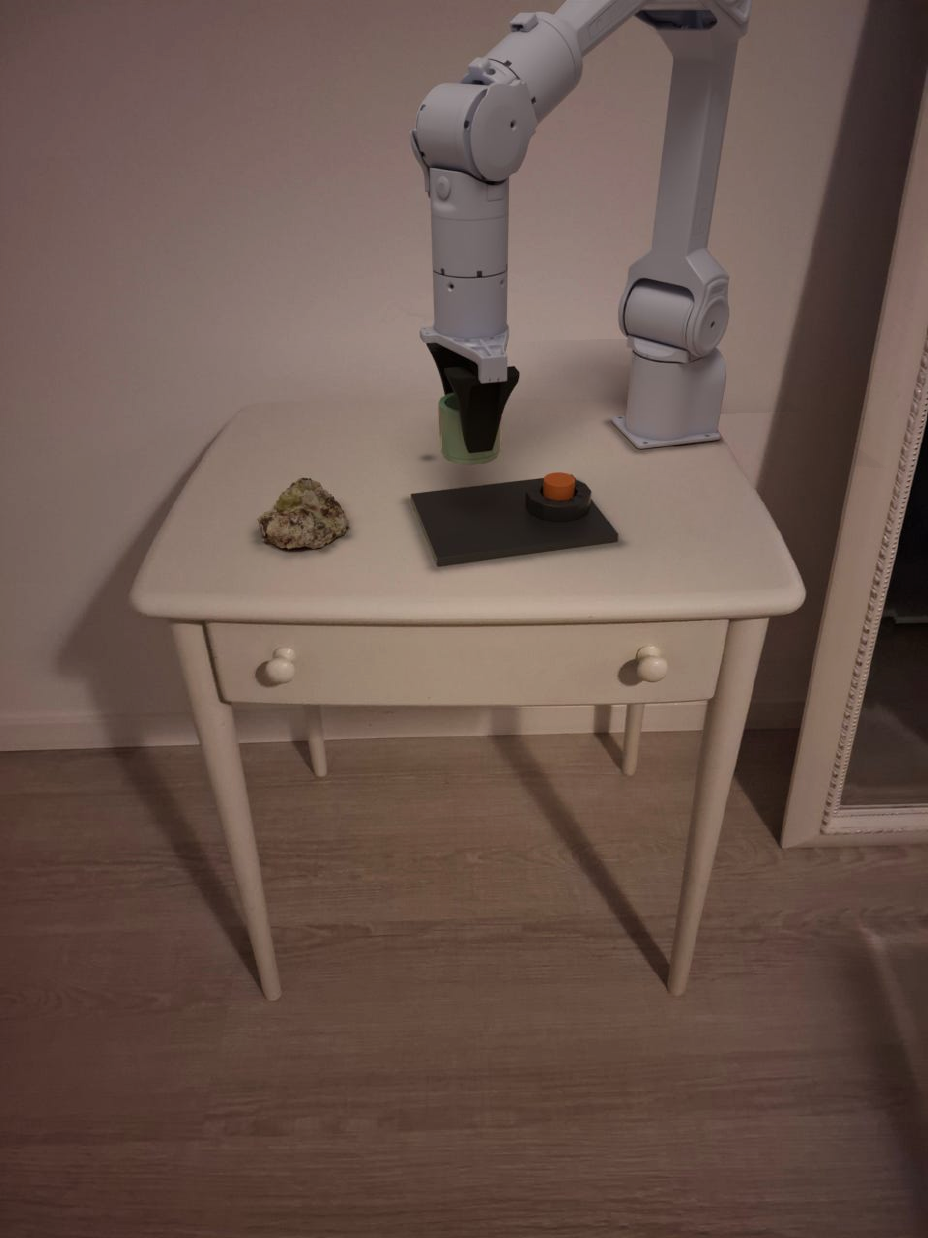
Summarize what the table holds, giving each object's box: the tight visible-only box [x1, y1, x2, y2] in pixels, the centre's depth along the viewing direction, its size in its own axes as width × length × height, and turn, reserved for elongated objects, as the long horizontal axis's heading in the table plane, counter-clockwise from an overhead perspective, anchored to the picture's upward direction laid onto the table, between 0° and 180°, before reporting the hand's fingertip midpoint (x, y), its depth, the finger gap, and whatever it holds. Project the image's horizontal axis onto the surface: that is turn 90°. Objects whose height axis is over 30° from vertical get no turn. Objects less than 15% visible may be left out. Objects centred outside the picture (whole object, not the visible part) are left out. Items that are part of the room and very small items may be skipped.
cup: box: [437, 392, 503, 466], centre depth 73 cm, size 5×5×4 cm
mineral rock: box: [256, 477, 350, 550], centre depth 78 cm, size 11×4×8 cm
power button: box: [543, 471, 576, 500], centre depth 78 cm, size 3×3×2 cm
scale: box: [410, 473, 619, 568], centre depth 78 cm, size 16×12×2 cm
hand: (471, 436), depth 74 cm, fingers closed on cup, 5 cm apart
